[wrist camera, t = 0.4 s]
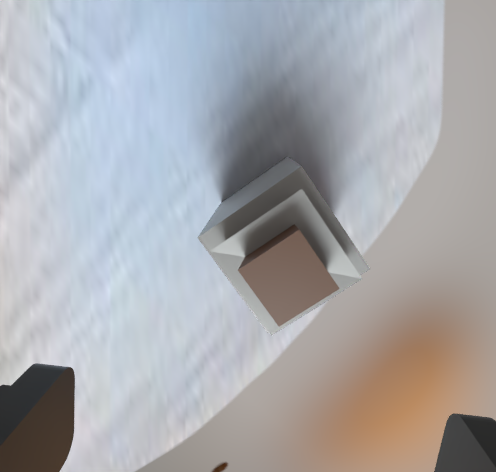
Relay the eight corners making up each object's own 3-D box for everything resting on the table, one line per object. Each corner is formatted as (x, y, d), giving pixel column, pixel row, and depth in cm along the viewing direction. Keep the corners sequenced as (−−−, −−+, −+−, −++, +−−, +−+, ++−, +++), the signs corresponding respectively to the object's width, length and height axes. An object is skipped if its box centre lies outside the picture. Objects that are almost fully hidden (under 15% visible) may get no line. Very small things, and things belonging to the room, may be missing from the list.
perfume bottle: (287, 156, 36) (311, 172, 18) (331, 222, 37) (395, 298, 19) (221, 202, 37) (182, 260, 19) (266, 265, 38) (268, 375, 20)
